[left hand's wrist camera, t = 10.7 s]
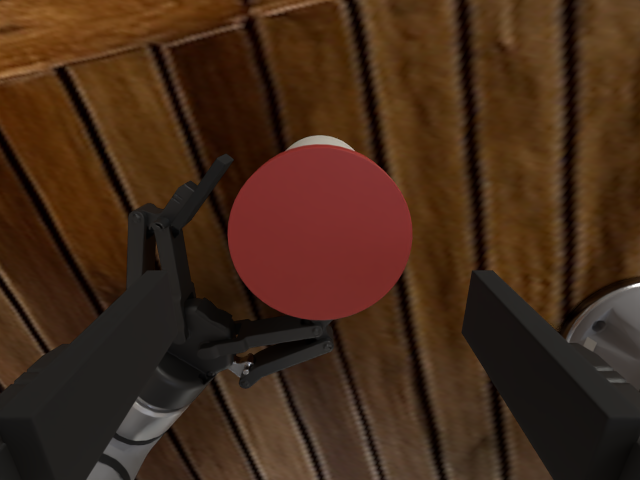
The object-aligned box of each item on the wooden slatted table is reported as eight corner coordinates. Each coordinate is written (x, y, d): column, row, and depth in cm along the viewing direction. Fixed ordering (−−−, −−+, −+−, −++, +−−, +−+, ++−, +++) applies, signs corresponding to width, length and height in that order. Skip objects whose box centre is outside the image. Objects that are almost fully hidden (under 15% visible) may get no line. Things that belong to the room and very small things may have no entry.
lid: (439, 241, 21) (448, 251, 20) (311, 333, 23) (310, 349, 22) (331, 103, 18) (332, 102, 17) (198, 222, 21) (188, 231, 19)
